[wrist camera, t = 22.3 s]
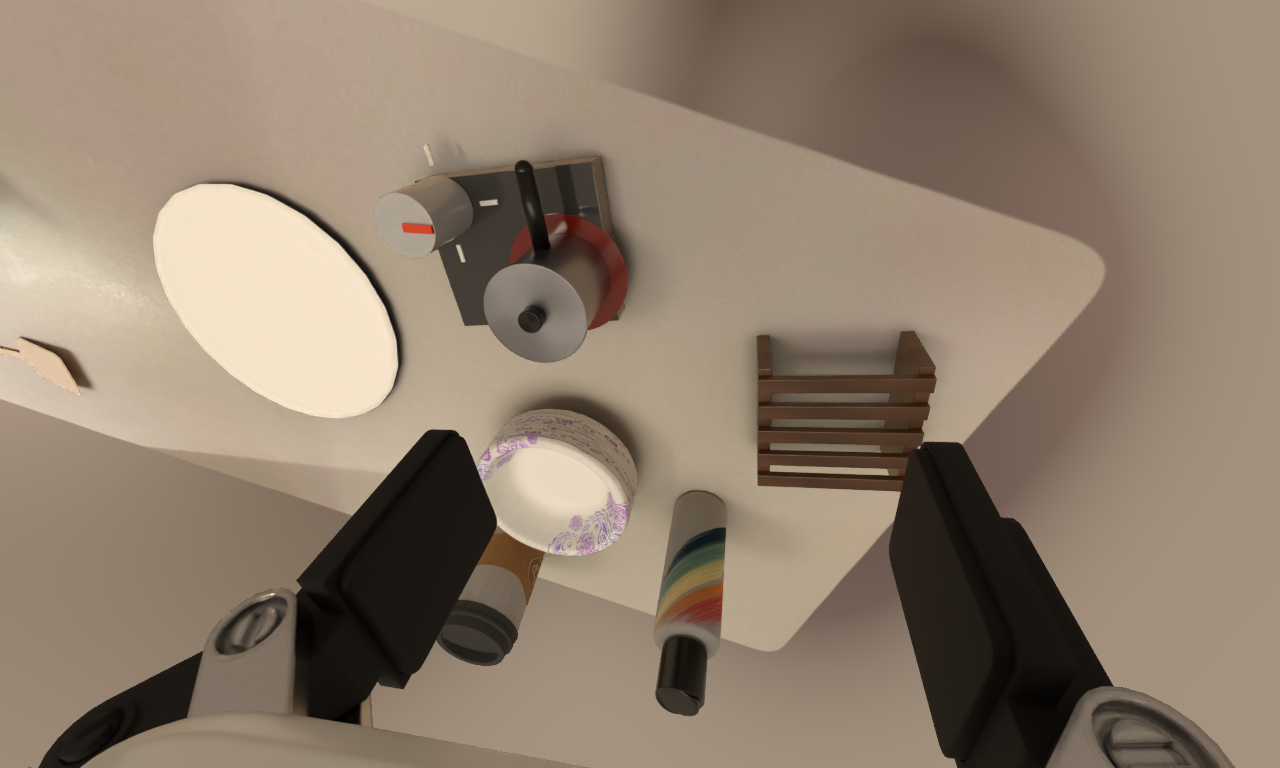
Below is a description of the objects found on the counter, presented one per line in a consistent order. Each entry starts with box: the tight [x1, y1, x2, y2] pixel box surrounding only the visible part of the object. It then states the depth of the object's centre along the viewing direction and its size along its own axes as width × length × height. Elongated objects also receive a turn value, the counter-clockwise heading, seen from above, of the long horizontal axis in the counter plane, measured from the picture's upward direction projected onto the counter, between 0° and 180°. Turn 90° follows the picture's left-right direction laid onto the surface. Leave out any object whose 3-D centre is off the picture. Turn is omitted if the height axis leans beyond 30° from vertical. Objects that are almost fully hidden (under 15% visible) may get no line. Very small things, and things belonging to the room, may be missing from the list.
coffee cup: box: [436, 525, 544, 666], centre depth 55 cm, size 8×8×15 cm
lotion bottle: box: [653, 491, 726, 716], centre depth 45 cm, size 6×6×20 cm
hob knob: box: [374, 176, 473, 259], centre depth 35 cm, size 4×4×6 cm
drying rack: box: [757, 332, 937, 492], centre depth 40 cm, size 12×12×6 cm
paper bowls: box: [476, 409, 638, 556], centre depth 49 cm, size 15×15×8 cm
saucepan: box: [484, 160, 610, 363], centre depth 34 cm, size 7×13×8 cm, turn 7°
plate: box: [153, 184, 399, 418], centre depth 49 cm, size 25×25×1 cm
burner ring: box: [509, 213, 628, 330], centre depth 38 cm, size 10×10×1 cm
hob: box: [415, 144, 625, 326], centre depth 39 cm, size 14×16×3 cm
